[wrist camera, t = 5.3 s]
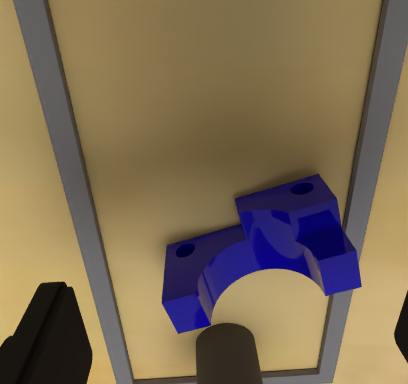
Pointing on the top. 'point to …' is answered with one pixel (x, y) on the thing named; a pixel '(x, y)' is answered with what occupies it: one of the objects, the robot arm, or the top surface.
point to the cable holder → (261, 250)
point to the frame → (85, 211)
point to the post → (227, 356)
